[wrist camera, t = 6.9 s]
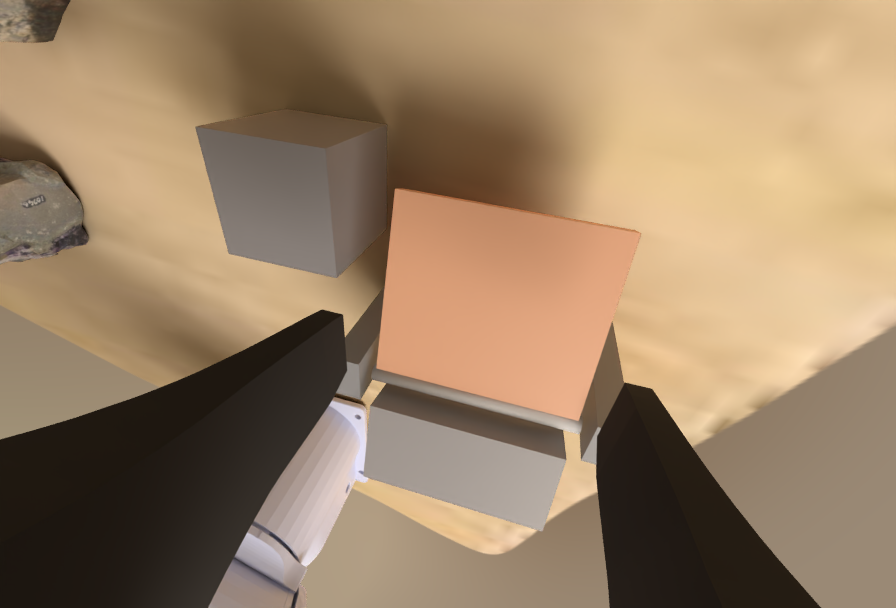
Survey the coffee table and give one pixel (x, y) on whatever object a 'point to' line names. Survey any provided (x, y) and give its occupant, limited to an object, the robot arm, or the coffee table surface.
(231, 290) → the coffee table surface
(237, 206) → the gray cube
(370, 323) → the frame
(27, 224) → the mineral rock
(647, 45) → the coffee table surface
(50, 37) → the stone block
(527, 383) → the trapdoor
